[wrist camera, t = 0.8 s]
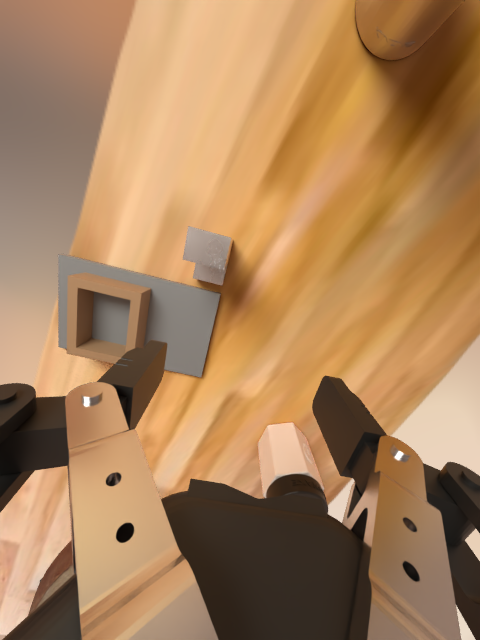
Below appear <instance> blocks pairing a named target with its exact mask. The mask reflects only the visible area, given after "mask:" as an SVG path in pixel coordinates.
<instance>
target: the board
mask: <svg viewBox="0 0 480 640" xmlns="http://www.w3.org/2000/svg"><path fill="white" fill-rule="evenodd" d="M220 295H221V293H218V292H214V291H210V290H206V289H202V288H198V287H194V286H190V285H186V284H182V283H178V282H174V281H170V280H166V279H162V278H158V277H154V276H150V275H146V274H142V273H138V272H134V271H130V270H126V269H122V268H118V267H114V266H110V265H106V264H102V263H98V262H94V261H90V260H86V259H82V258H78V257H74V256H70V255H65V254H59V347H61V348H65V349H67V354H71V355H75V356H80V357H85V358H90V359H94V360H99V361H104V362H109V363H113V364H116V362H117V361H118V360H119V359H121V357H122V356H123V355H124V354H125V353H126V352H127V351H130V350H132V349H134V348H136V347H139V348H144V347H145V346H146V344H147V343H148V342H149V341H150V340H156V341H161V342H166V343H167V353H166V360H165V367H164V370H169V371H173V372H178V373H183V374H187V375H192V376H197V377H201V376H202V372H203V367H204V363H205V359H206V355H207V350H208V346H209V342H210V338H211V333H212V329H213V325H214V320H215V316H216V312H217V308H218V303H219V299H220Z"/></svg>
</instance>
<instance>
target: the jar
mask: <svg viewBox="0 0 480 640" xmlns="http://www.w3.org/2000/svg"><path fill="white" fill-rule="evenodd" d="M258 451H259V461H260V471H261V481H262V491H263V496H264V497H265V498H270V497H277V496H284V495H290V494H291V495H297V496H304V497H310V498H316V499H322V503H323V506H324V509H325V512H326V514H328V505H327V502H326V498H325V495H324V492H323V491H324V486H323V483H322V480H321V478H320V475H319V472H318V469H317V466H316V464H315V461H314V458H313V455H312V452H311V450H310V447H309V444H308V441H307V438H306V437H305V436H304V434H303V433H302V432H301V431H300V430H299V429H298V428H297V427H296V425H295V424H294V423H293V422H289V423H281V424H273V425H268V426H267V427H266V429H265V431H264V433H263V434H262V436H261V438H260V440H259V442H258Z"/></svg>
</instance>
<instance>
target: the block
mask: <svg viewBox="0 0 480 640" xmlns="http://www.w3.org/2000/svg"><path fill="white" fill-rule="evenodd" d="M232 243H233V239H232V238H230V237H226V236H223V235H219V234H215V233H212V232H208V231H204V230H201V229H197V228H193V227H190V226H188V232H187V238H186V244H185V249H184V255H183V260H187V261H191V262H195V263H196V265H195V270H194V275H193V278H194V279H198V280H202V281H206V282H210V283H214V284H218V285H223V282H224V278H225V273H226V269H227V265H228V260H229V256H230V252H231V248H232Z"/></svg>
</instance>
